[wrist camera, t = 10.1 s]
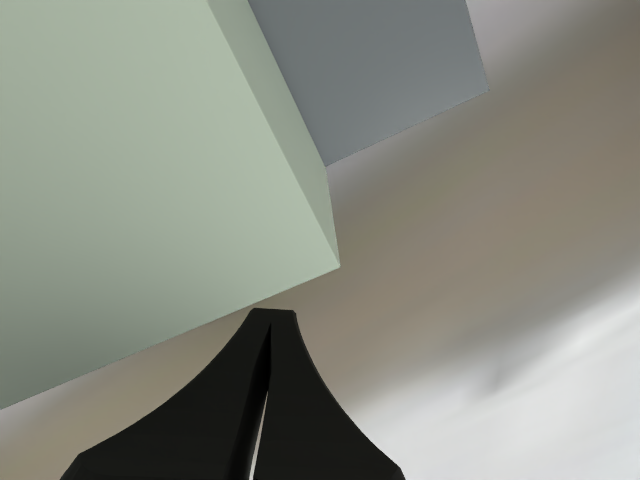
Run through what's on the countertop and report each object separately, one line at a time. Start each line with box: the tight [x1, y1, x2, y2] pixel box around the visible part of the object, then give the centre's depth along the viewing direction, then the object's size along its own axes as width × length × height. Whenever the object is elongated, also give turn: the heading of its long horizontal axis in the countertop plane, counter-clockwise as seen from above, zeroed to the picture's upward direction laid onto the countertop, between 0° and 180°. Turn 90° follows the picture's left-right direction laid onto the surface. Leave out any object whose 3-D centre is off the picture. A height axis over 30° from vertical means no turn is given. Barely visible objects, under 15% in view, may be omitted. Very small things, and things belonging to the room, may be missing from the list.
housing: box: [0, 0, 340, 410], centre depth 7 cm, size 8×7×6 cm
